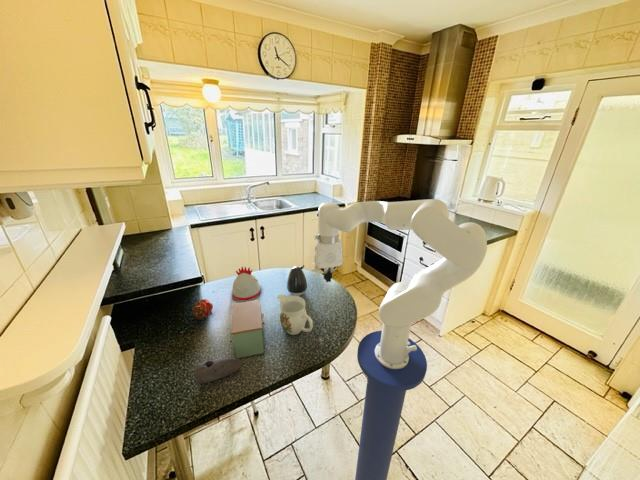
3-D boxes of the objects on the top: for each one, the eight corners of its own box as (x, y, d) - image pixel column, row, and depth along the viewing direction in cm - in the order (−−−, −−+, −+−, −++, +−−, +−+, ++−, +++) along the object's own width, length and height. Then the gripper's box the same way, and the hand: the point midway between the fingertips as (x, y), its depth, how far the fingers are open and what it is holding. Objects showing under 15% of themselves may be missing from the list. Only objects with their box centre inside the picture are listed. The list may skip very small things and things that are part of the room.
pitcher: (303, 348, 98) (302, 321, 93) (271, 328, 108) (268, 301, 103) (320, 332, 106) (320, 305, 101) (288, 314, 116) (287, 289, 111)
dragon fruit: (201, 328, 110) (203, 314, 121) (217, 314, 111) (217, 301, 121) (185, 317, 106) (189, 303, 117) (201, 303, 107) (203, 290, 118)
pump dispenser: (311, 292, 132) (311, 266, 125) (297, 301, 124) (296, 275, 118) (297, 284, 138) (296, 260, 131) (283, 293, 130) (281, 267, 124)
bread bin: (264, 322, 111) (262, 299, 106) (267, 352, 97) (264, 327, 91) (236, 327, 108) (232, 303, 103) (235, 359, 94) (230, 333, 89)
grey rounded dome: (257, 300, 125) (254, 274, 119) (229, 300, 125) (224, 274, 119) (263, 284, 137) (260, 260, 131) (237, 284, 138) (233, 259, 131)
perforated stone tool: (242, 363, 92) (240, 349, 89) (243, 375, 88) (241, 361, 85) (197, 375, 88) (193, 361, 85) (196, 389, 83) (192, 374, 80)
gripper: (310, 243, 88) (311, 288, 95) (351, 239, 91) (348, 282, 99) (306, 235, 94) (307, 277, 102) (344, 231, 98) (342, 272, 106)
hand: (327, 280), depth 100 cm, fingers closed
